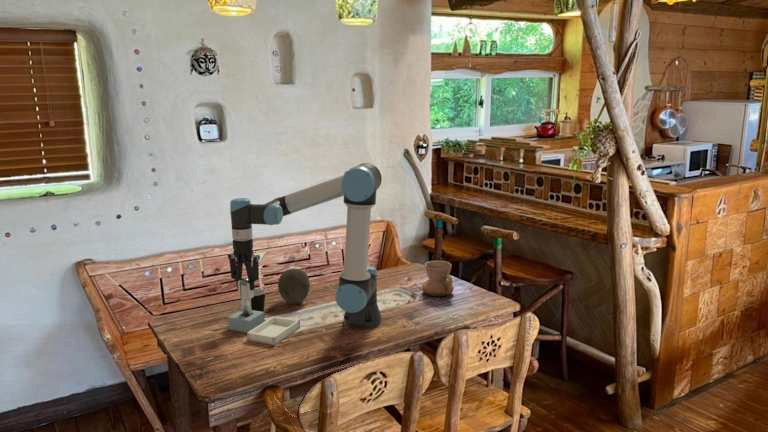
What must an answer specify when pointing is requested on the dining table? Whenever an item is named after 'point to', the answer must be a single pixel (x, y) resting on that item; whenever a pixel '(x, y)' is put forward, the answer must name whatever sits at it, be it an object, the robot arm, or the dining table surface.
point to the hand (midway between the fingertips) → (246, 297)
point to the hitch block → (245, 321)
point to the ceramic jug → (438, 278)
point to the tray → (273, 330)
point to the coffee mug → (258, 300)
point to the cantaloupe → (293, 285)
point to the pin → (245, 299)
